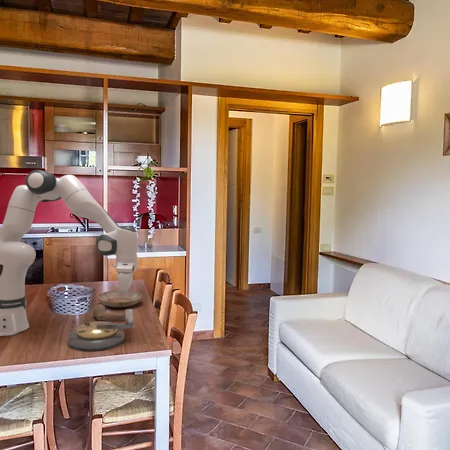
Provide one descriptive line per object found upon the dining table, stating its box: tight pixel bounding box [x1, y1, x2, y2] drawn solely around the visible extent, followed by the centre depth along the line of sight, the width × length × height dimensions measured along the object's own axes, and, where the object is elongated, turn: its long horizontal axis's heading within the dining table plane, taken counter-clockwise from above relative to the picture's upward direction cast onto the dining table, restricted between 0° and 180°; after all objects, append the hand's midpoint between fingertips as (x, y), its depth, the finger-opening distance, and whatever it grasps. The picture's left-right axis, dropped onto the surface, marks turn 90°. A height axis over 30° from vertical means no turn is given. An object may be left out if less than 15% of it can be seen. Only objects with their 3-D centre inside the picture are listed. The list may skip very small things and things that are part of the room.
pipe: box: [92, 303, 125, 322], centre depth 209 cm, size 6×17×10 cm
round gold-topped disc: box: [75, 308, 135, 341], centre depth 179 cm, size 23×16×10 cm
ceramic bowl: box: [97, 289, 143, 308], centre depth 233 cm, size 23×24×5 cm
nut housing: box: [68, 328, 125, 352], centre depth 179 cm, size 22×22×3 cm
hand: (125, 297), depth 185 cm, fingers closed
